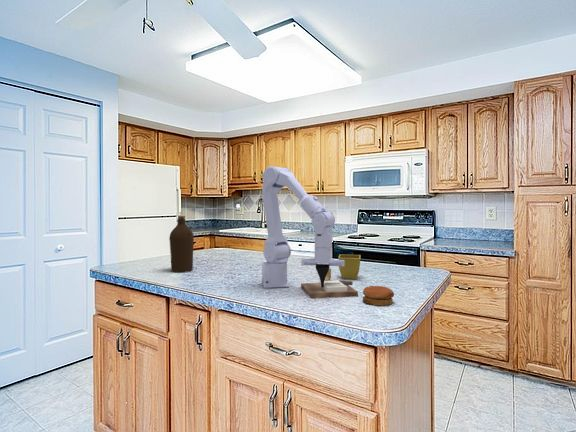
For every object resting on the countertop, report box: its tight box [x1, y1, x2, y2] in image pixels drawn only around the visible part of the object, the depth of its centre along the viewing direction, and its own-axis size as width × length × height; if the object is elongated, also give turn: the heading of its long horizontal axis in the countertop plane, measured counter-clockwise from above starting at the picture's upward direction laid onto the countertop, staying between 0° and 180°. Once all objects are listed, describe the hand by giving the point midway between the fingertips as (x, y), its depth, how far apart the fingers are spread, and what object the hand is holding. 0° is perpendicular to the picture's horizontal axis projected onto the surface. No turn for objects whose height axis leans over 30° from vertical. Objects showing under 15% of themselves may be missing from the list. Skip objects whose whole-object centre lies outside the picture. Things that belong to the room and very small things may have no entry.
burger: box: [362, 285, 395, 307], centre depth 111 cm, size 10×9×5 cm
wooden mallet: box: [325, 267, 354, 286], centre depth 129 cm, size 4×10×5 cm, turn 71°
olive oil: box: [168, 215, 195, 273], centre depth 163 cm, size 11×11×25 cm
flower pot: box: [337, 254, 361, 280], centre depth 147 cm, size 9×9×9 cm
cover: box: [318, 279, 347, 292], centre depth 123 cm, size 7×10×2 cm
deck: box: [300, 282, 359, 299], centre depth 124 cm, size 16×15×2 cm
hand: (322, 286), depth 122 cm, fingers closed, pressing on cover
